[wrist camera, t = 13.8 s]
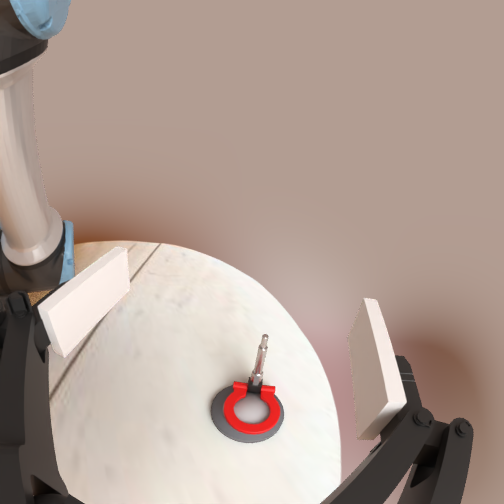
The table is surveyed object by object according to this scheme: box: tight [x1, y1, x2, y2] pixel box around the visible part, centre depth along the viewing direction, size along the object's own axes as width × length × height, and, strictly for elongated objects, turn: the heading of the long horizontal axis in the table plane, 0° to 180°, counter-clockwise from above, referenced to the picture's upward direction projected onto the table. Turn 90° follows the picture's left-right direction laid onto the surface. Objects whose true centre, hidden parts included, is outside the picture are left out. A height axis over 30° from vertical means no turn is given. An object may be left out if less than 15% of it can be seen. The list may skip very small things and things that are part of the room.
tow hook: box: [223, 334, 280, 435], centre depth 35 cm, size 8×13×9 cm
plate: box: [211, 385, 284, 443], centre depth 37 cm, size 11×11×1 cm
